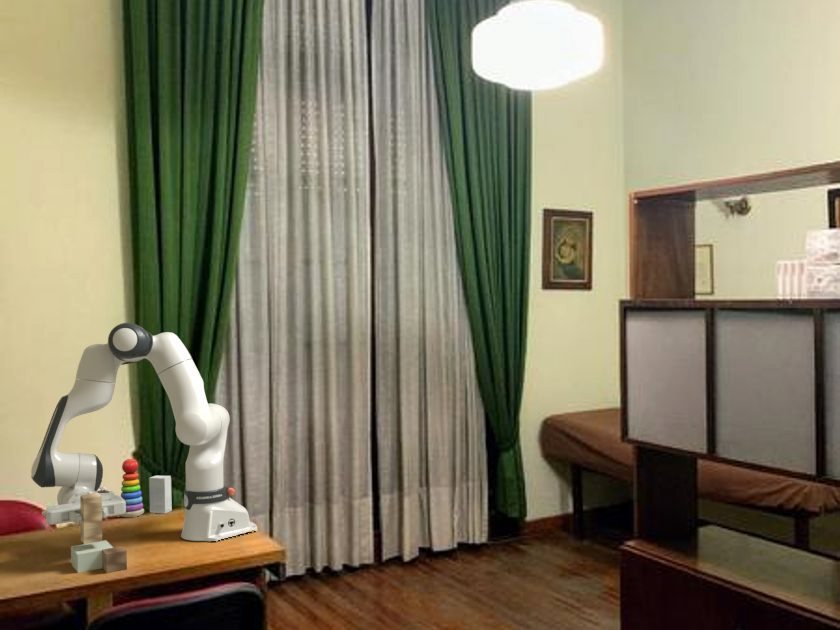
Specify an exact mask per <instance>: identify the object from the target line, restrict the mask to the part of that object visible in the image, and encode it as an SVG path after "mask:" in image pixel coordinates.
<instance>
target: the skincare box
mask: <svg viewBox="0 0 840 630" xmlns="http://www.w3.org/2000/svg"><path fill="white" fill-rule="evenodd" d="M148 481H149V483H148V484H149V486H148V487H149V513H150V514H164V515H165V514H168V513H170V512H172V509H173V508H172V507H173V506H172V505H173V504H172V500H173V499H172V477H171V475H154V476H151V477H149V478H148Z"/></svg>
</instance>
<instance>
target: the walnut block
mask: <svg viewBox="0 0 840 630" xmlns="http://www.w3.org/2000/svg"><path fill="white" fill-rule="evenodd" d="M127 552H128V551H127V550H126V548H125V547H124V546H123V545H122V546H116V547H113V548H109V549H103V550H102V568H101V569H102V570H103V571H104V572H105V573H106V574H112V573H116V572H121V571H127V570H128V567H127V566H128V561H127V560H128V556H127V555H128V553H127Z"/></svg>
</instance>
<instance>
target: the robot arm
mask: <svg viewBox="0 0 840 630" xmlns="http://www.w3.org/2000/svg"><path fill="white" fill-rule="evenodd" d="M107 337H108V338H107V343H103V344H102V343H94V344H90V345H88V346H87V347H86V348H85V349H84V350H83V352H82V355H81V357H80V360H79V363H78V367H77V370H76V375H75V379H74V384H73V386H72V388H71V390H70V391H69V392H68V394H66V395H63V396H62V397H61V398H60V399H59V401H58V402H57V404H56V407H55V408H54V411H53V413H52V415H51V419H50V422H49V424H48V426H47V429H46V432H45V435H44V437H43V440H42V443H41V446H40V448H39V451H38V453H37V455H36V457H35V459H34V461H33V462H32V466H31V472H30V473H31V476H30V477H31V479H32V481H33V482H34V484H36V485H38V486H39V487H40V488H55V487H59V488H60V487H61V488H60V489H59V490H58V493H57V496H56V497H57V499H56V500H57V504H56V505H50V506H47V508H46V509H45V510H43V511H41V515H42V516H43V517H45V519H46V520H45V522H46V524H47V525H52V526H53V525H59V524H65V523H75V524H81V521H83V519H82V518H83V515H82V514H80V495H87V494H94V493H99V494H100V495H101V496H102V519H106V518H107V517H112V516H113V517H114V516H120V515H121V514H124V513H125V512H126V502H125V500H124V499H123V498H122V497H121V495H120V496H119V495H118V494H115V492H114V491H111V490H108V491H97V490H98V489H99V488H101V485H102V482H103V476H104V468H103V463H102V462H101V460H100V459H99V457H98V456H97V455H96V454H93V453H80V452H75V453H74V452H61V451H58V448H59V445H60V442H61V440H62V437H63V434H64V431H65V428H66V426H67V424H68V423H69V422H70V421H71V420H72V419H74V418H76V417H79V416H82V415H86V414H90V413H93V412H98V411H99V410H101V409H103V408H105V407H106V406H107V405H109V403H110V402H111V401H112V398H113V396H114V392H115V387H116V382H117V381H116V380H117V374H118V371H119V368H120V366H121V365H123V366H124V365H129V364H136V363H139V362H140V363H141V362H143V361H144V360H145V359H146V360H147V361H149V362H150V363H151V365H152V367H153V368H154V370H155V373H156V374H157V376H158V378H159V380H160V383H161V385H162V387H163V389H164V390H165V392H166V395H167V397H168V399H169V402H170V405H171V409H172V412H173V413H172V414H173V416H174V421H175V427H174V428H175V434H176V437H177V439H178V440H179V441H180V442H181V443H182V444H184V445H187V446H189V450H188V453H187V458H186V461H185V488H184V490H183V491H184V492H183V493H184V495H183V503H184V505H183V507H184V508H185V510H184V518H183V519H184V520H183V527H182V530H181V534H180V537H181V538H182V539H183V540H186V541H192V542H193V541H194V542H196V541H197V542H211V541H216V542H219V541H218V540H220V541H222V540H221V539H224V538H228V537H232V536H236V535H238V534H242V533H246V532H249V531H252V530H255V531H256V532H258V525H257V524H256V523H254V522H253V521H250V515H249V512H248V510H247V508H246V507H244V506H243V505H241V503H239V502H237V501H236V500H235V499H233V498H231V497H230V496H234V495H235V494H236V489H234V488H233V487H228V486H227V485H224V484H225V483H224V459H225V458H224V457H225V451H226V445H227V436H228V429H229V425H230V423H231V421H230V419H231V417H230V413H229V412H228V410H227V409H226V408H225V407H224V406H222V405H220V404H217V403H208V400H207V396H206V392H205V387H204V385H205V383H204V379H203V378H202V376H201V373H200V371H199V370H198V368H197V366H196V364H195V362H194V360H193V357H192V355H191V353H190V351H188V349H187V347H186V346H185V344H184V343H183V342H182V340H181V339H180V338H179V336H178V335H177V334H175V333H174V332H170V331H166V332H165V331H164V332H161V333H158V334H156V335H153V334H152V333H151V332H148V330H145V328H143V327H142V326H140V325H138V324H136V323H134V322H133V323H132V322H123V323H120V324H117V325H115V326H114V327H113V328H112V329H111V330H110V332H109V334H108V336H107ZM236 537H237V536H236ZM232 538H233V537H232ZM228 539H229V538H228ZM224 540H225V539H224Z"/></svg>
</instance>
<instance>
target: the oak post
mask: <svg viewBox="0 0 840 630" xmlns="http://www.w3.org/2000/svg"><path fill="white" fill-rule="evenodd" d="M80 514H82V515H83V518H82V519H83V521H81V523H80V541H81V543H83V544H87V543H93V542H100V541H103V518H102V496H101V495H100V494H99V493H94V494H87V495H80Z"/></svg>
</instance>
